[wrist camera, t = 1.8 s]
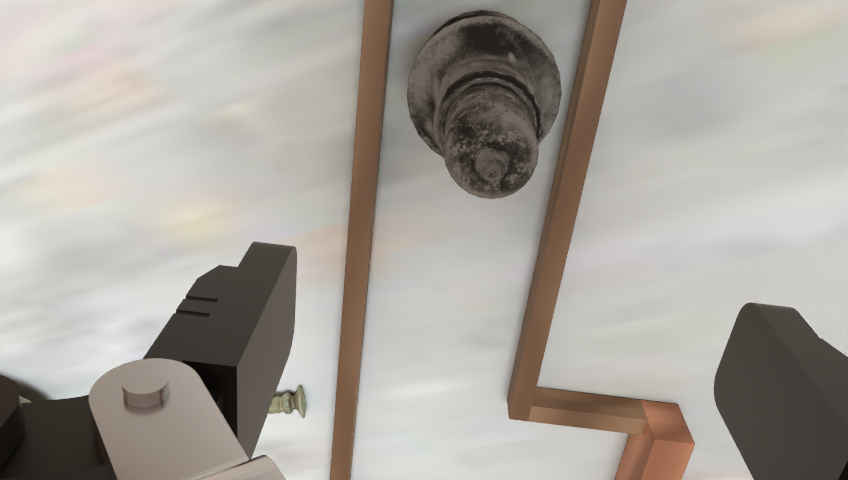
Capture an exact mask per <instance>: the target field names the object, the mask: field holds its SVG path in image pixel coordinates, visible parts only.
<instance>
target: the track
mask: <svg viewBox="0 0 848 480" xmlns="http://www.w3.org/2000/svg"><path fill="white" fill-rule="evenodd" d="M626 3H627V0H592V3H591V8H590V12H589V17H588V22H587V26H586V31H585V36H584V41H583V45H582V50H581V55H580V59H579V64H578V69H577V73H576V78H575V83H574V87H573V92H572V97H571V101H570V106H569V111H568V116H567V120H566V125H565V130H564V134H563V139H562V144H561V148H560V153H559V158H558V162H557V167H556V172H555V176H554V181H553V186H552V191H551V195H550V200H549V205H548V209H547V214H546V219H545V223H544V228H543V233H542V237H541V242H540V247H539V251H538V256H537V261H536V266H535V270H534V275H533V280H532V284H531V289H530V294H529V298H528V303H527V308H526V312H525V317H524V322H523V326H522V331H521V336H520V341H519V345H518V350H517V355H516V359H515V364H514V369H513V373H512V378H511V383H510V387H509V392H508V397H507V403H508V413H509V419H514V420H523V421H531V422H539V423H547V424H556V425H564V426H572V427H581V428H589V429H597V430H605V431H614V432H622V433H630V434H629V437H628V440H627V443H626V446H625V450H624V453H623V456H622V459H621V462H620V465H619V468H618V471H617V474H616V477H615V480H681V479H682V477H683V474H684V472H685V469H686V466H687V464H688V461H689V459H690V456H691V453H692V451H693V448H694V445H695V443H694V441H693V438H692V436H691V434H690V431H689V429H688V427H687V425H686V422H685V420H684V418H683V415H682V413H681V411H680V408H679V406H678V404H671V403H663V402H655V401H646V400H638V399H630V398H622V397H613V396H605V395H597V394H589V393H580V392H572V391H564V390H556V389H547V388H539V387H536V386H537V382H538V377H539V373H540V369H541V365H542V360H543V356H544V352H545V347H546V343H547V339H548V335H549V330H550V326H551V322H552V318H553V313H554V309H555V305H556V301H557V296H558V292H559V288H560V284H561V279H562V275H563V271H564V267H565V262H566V258H567V254H568V250H569V245H570V241H571V237H572V233H573V228H574V224H575V220H576V215H577V211H578V207H579V203H580V198H581V194H582V190H583V186H584V181H585V177H586V173H587V169H588V164H589V160H590V156H591V152H592V147H593V143H594V139H595V135H596V130H597V126H598V122H599V118H600V113H601V109H602V105H603V101H604V96H605V92H606V88H607V84H608V79H609V75H610V71H611V66H612V62H613V58H614V54H615V49H616V45H617V41H618V37H619V32H620V28H621V24H622V20H623V15H624V11H625V7H626ZM393 4H394V0H365V8H364V22H363V36H362V49H361V63H360V77H359V90H358V104H357V118H356V131H355V145H354V159H353V172H352V186H351V200H350V213H349V227H348V241H347V254H346V268H345V282H344V295H343V309H342V323H341V336H340V350H339V364H338V377H337V391H336V405H335V419H334V432H333V446H332V460H331V473H330V480H350V477H351V466H352V455H353V444H354V433H355V422H356V411H357V400H358V389H359V378H360V367H361V356H362V345H363V334H364V323H365V312H366V301H367V290H368V279H369V268H370V257H371V246H372V235H373V224H374V213H375V202H376V191H377V180H378V169H379V158H380V147H381V136H382V125H383V114H384V103H385V92H386V81H387V70H388V59H389V48H390V37H391V26H392V15H393Z"/></svg>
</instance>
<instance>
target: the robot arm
mask: <svg viewBox="0 0 848 480" xmlns="http://www.w3.org/2000/svg"><path fill="white" fill-rule="evenodd" d="M296 273H297V251H296V247H294V246H286V245H278V244H269V243H261V242H253V243H252V244H251V246H250V247H249V249H248V251H247V252H246V254H245V256H244V257H243V259H242V261H241V262H240V264H239V266H238V267H231V266H223V265H219V266H217V267H216V268H214V269H212V270H211V271H209V272H207V273H206V274H204V275H202V276H201V277H199V278H198V279H197V280H196V281H195V283H194V284H193V286H192V287H191V289H190V290H189V292H188V293H187V295H186V299H183V301H182V302H181V304H180V305H179V306H178V308H177V309H176V313H174V314H173V315H172V317H171V318H170V320H169V321H168V323H167V324H166V326H165V327H164V329H163V330H162V331H161V333H160V334H159V336H158V337H157V339H156V340H155V342H154V343H153V345H152V346H151V348H150V349H149V351H148V352H147V354H146V355H145V356H144V358H143V359H141V360H137V361H132V362H129V363H125V364H123V365H120V366H118V367H116V368H114V369H112V370H110V371H108V372H107V373H105V374H104V375H103V376H101V377H100V378H99V379H98V380H97V381H96V382H95V384H94V385H93V387H92V388H91V391H90V393H89V395H86V396H82V397H76V398H69V399H59V400H49V401H39V402H29V403H21V399H20V394H19V390H18V387H17V386H16V385H15V383H14V382H12V381H11V380H10V379H8V378H6V377H4V376H1V375H0V480H286V479H285V478H284V476H283V475H282V473H281V472H280V470H279V468H278V467H277V465H276V464H275V463H274V461H273V460H272V459H271V458H269V457H268V456H266V455H261V456H258V457H256V458H253V459H251V458H252V455H253V452H254V449H255V447H256V444H257V441H258V438H259V436H260V433H261V430H262V428H263V425H264V422H265V419H266V417H267V414H268V411H269V408H270V406H271V403H272V400H273V397H274V395H275V392H276V389H277V387H278V384H279V381H280V378H281V376H282V373H283V370H284V367H285V365H286V362H287V359H288V356H289V353H290V349H291V345H292V340H293V333H294V324H295V300H296ZM714 397H715V402H716V406H717V408H718V410H719V412H720V414H721V416H722V418H723V420H724V422H725V424H726V426H727V428H728V430H729V432H730V434H731V436H732V438H733V440H734V441H735V443H736V445H737V447H738V449H739V451H740V453H741V455H742V457H743V459H744V461H745V463H746V465H747V467H748V469H749V471H750V473H751V475H752V477H753V479H754V480H848V357H847V356H845V355H844V354H842V353H841V352H840V351H838V350H837V349H835V348H834V347H833V346H831V345H830V344H828V343H827V342H826V341H824V340H823V339H821V338H819V337H818V336H817V334H816V333H815V332H814V331H813V329H812V328H811V327H810V326H809V325H808V323H807V322H806V321H805V320H804V319H803V317H802V316H801V315H800V314H799V313H798V311H797V310H795V309H794V308H791V307H783V306H775V305H766V304H758V303H747V304H745V305H744V306H743V307H742V308H741V310H740V312H739V314H738V316H737V319H736V322H735V324H734V327H733V330H732V332H731V335H730V337H729V340H728V343H727V345H726V348H725V351H724V353H723V356H722V359H721V361H720V364H719V367H718V369H717V372H716V376H715V382H714Z"/></svg>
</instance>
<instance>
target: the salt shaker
mask: <svg viewBox="0 0 848 480" xmlns="http://www.w3.org/2000/svg"><path fill="white" fill-rule="evenodd" d="M560 99H561V83H560V73H559V71H558V68H557V65H556V63H555V60H554V57H553V55H552V53H551V52H550V51H549V49H548V48H547V46H546V45H545V44H544V42H543V41H542V40H541V38H540V37H538V36H537V35H536V34H534V33H533V32H532V31H531V30H529V29H528V28H527V27H525V26H524V25H522V24H520V23H519V22H517V21H516V20H515V19H513V18H511V17H509V16H506V15H504V14H501V13H499V12H491V11H482V10H480V11H474V12H468V13H464V14H462V15H459V16H457V17H455V18H453V19H451V20H449V21H448V22H446V23H445V24H444V25H443V26H442V27H440V28H439V29H438V30H437V31H436V32H435V33H434V35H433V36H432V38H431V39H430V40H429V41H427V43H426V44H425V46H424V47H423V49H422V50H421V51H420V53H419V54H418V56H417V57H416V59H415V62H414V64H413V67H412V70H411V73H410V75H409V80H408V91H407V101H408V106H409V112H410V117H411V119H412V121H413V124H414V126H415V128H416V130H417V132H418V134H419V135H420V137H421V138H422V139H423V140H424V141H425V143H426V144H427V145H428V146H429V147H430V148H431V149H432V150H433V151H435V152H436V153H437V154H439V155H440V156H442V157H443V158H445V164H446V167H447V169H448V171H449V173H450V175H451V177H452V178H453V179H454V180H455V182H456V183H457V184H458V185H459V186H460V187H461V188H462V189H464V190H465V191H467V192H468V193H470V194H472V195H475V196H478V197H481V198H489V199H494V198H502V197H505V196H508V195H510V194H513V193H515V192H516V191H518V190H519V189H520V188H522V187H523V186H524V185H525V184H526V183H527V181H528V180H529V179H530V178H531V176H532V174H533V172H534V169H535V167H536V165H537V159H538V153H539V151H538V145H539V143H540V142H541V141H542V140H543V139H544V137H545V136H546V135H547V134H548V133H549V131H550V129H551V127H552V125H553V123H554V121H555V119H556V116H557V114H558V110H559V104H560Z"/></svg>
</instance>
